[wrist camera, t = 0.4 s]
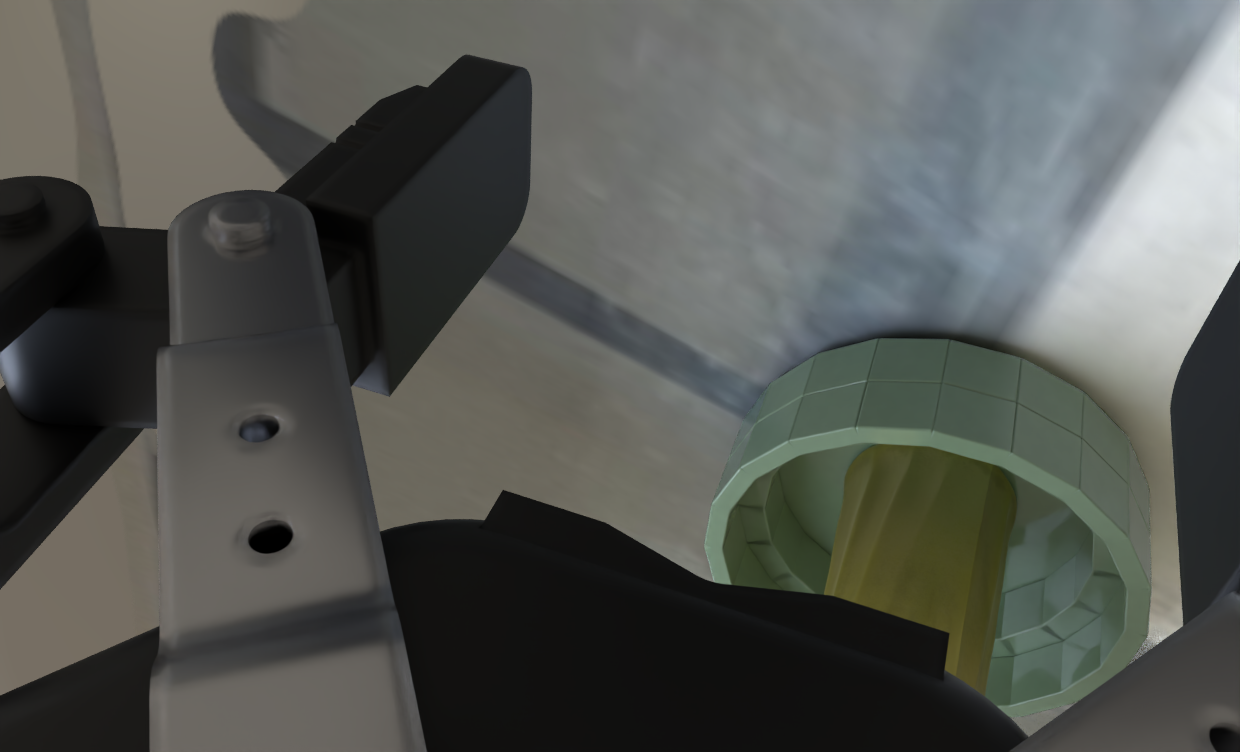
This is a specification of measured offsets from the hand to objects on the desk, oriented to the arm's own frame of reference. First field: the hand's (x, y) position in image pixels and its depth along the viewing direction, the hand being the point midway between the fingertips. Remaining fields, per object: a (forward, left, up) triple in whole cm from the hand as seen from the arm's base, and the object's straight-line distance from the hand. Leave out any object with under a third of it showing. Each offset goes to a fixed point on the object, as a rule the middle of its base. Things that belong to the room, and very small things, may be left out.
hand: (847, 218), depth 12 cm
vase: (+22, +4, -18) cm, 29 cm away
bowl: (+22, +4, -19) cm, 29 cm away
